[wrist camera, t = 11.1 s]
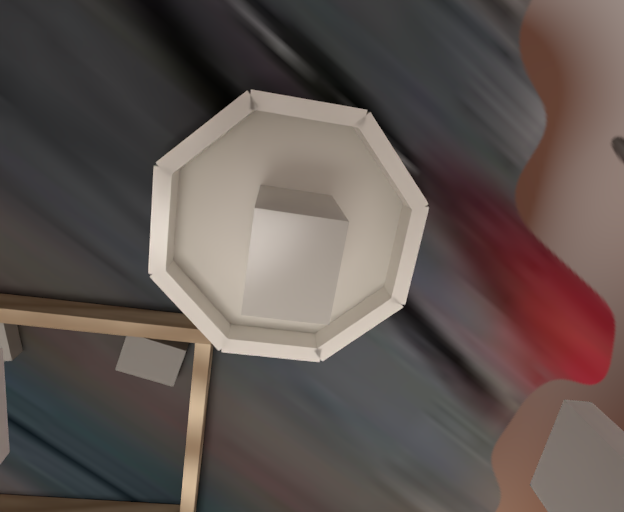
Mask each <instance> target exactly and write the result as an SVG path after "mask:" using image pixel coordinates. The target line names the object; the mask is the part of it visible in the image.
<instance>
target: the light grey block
mask: <svg viewBox="0 0 624 512" xmlns="http://www.w3.org/2000/svg"><path fill="white" fill-rule="evenodd" d="M0 348H3V358H4V361H12V360H13V359H15V358H16V357H17V356H18V355H19V354H20V353H21V352H22V351H23V349H22V344H21V340H20V335H19V331H18V326H17V324H7V323H0Z"/></svg>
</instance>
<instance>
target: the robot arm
mask: <svg viewBox="0 0 624 512" xmlns="http://www.w3.org/2000/svg"><path fill="white" fill-rule="evenodd" d="M8 453H9V436H8V421H7V405H6V390H5V374H4V358H3V348H0V464H1V462H2V461H3V460H4V459H5V457H6V456H7V455H8ZM530 486H531V487H532V489H533V490H534V492H535V493H536V494H537V496H538V498H539V499H540V501H541V502H542V503H543V505H544V506H545V508H546V509H547V511H548V512H624V432H623V431H622V430H621V429H620V428H619V427H618V426H617V425H616V424H615V423H614V422H613V421H611V420H610V419H609V418H608V417H607V416H606V415H605V414H604V413H603V412H602V411H601V410H600V409H598V408H597V407H596V406H595V405H594V404H593V403H592V402H584V401H574V400H564V401H563V404H562V406H561V409H560V411H559V414H558V416H557V419H556V421H555V424H554V426H553V429H552V431H551V433H550V436H549V438H548V441H547V443H546V446H545V449H544V451H543V453H542V456H541V459H540V461H539V463H538V466H537V468H536V471H535V473H534V476H533V478H532V481H531V483H530Z"/></svg>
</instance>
